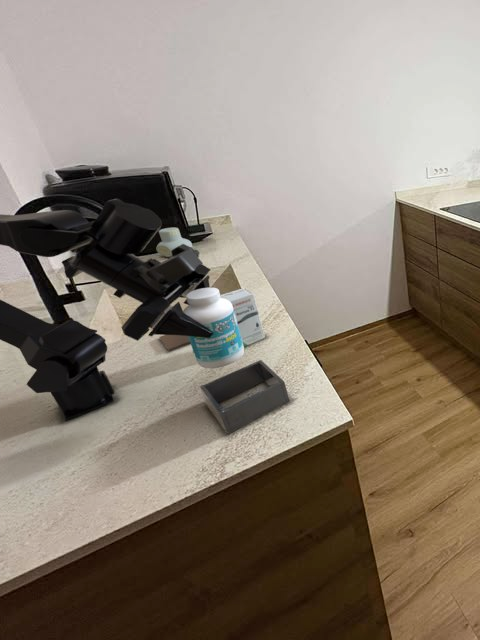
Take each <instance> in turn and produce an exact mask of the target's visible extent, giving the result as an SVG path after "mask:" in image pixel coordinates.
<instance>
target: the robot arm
mask: <svg viewBox="0 0 480 640" xmlns="http://www.w3.org/2000/svg"><path fill="white" fill-rule="evenodd" d="M101 208H102V209H101V212H100V213H99V214H98V216H97V217H94V216H93V217H92V216H84V215H83V214H82V213H80V212H78V211H76V210H71V209H62V210H61V209H60V210H47V211H40V212H33V213H24V214H14V215H13V214H0V246H4V247H9V248H11V249H12V250H14V251H16V252H18V253H21V254H25V255H31V256H37V257H43V258H54V257H57V256H59V255H63V254H65V253H69V251H72V250H76V249H79V250H78V251H77V252H76V254H75V255H72V256H69V257H68V258H66V259H63V260H62V261H61V264H62V265H63V267H64V268H63V269H64V275H65V277H66V278H67V279H73V278H74V277H77V276H78V275H80V274H83V273H85V274H86V275H88V276H90V277H92V278H94V279H95V280H97V281H100V282H102V283H103V284H105V285H107V286H109V287H111V288H113V289H115V291H114V292H113V294H112V295H113V296H115V297H117V298H118V299H121V298H122V297H124V296H128V297H130V298H132V299H134V300H136V301H138V302H140V303H141V304H140V305H139V306H137V307H136V308H135V309H134V311H133V312H132V314H131V315H130V316H129V317H128V318H127V319H126V321H125V322H124V323H123V324H122V326H121V327H120V328H121V330H122V332H123V334H124V336H126V337H128V338H130V339H132V340H134V341H137V342H138V341H140V340H141V339H142V338H143V337H144V336H145V335H146V334H147V333H148V337H153V336H154V335H156V336H157V335H158V336H164V335H181V336H193V337H204V338H210V337H211V336H212V335H213V332H212V331H211V330H209V329H208V328H207V327H205V326H204V325H202V324H200V323H199V322H197V321H196V320H194V319H192V318H191V317H189V316H188V315H186V314H185V313H184V312H183V310H184V309H183V308H182V305H181V303H180V302H179V301H177V300H178V299H179V298H183V299H184V300H185V301H183V304H184V305H187V306H189V303H188V302H187V299H186V295H187V294H188V293H190V292H192V291H194V290H197V289H202V288H211V285H210V279H211V278H210V275H208V274H209V273H210V271H211V268H209V267H207V266H206V265H204V264H203V263H204V262H202V260H201V259H200V258H199V257H200V251H199V250H197V249H194V248H193V247H189V246H187V245H185V244H182V245H180V246H178V247H176V248H174V249H173V250H171V252H172V256H173V257H168V258H167V259H165V260H163V261H162V262H161V261H160V260H158V259H156V258H149V259H148V260H146V261H145V260H144V259H142V258H139V257H138V256H137V254H140V253H142V252H143V251H144V249H145V248H146V247H147V245H148V244H149V243H150V242H151V241H152V239H153V238H154V237H155V236H156V234H157V233H158V232H159V231H160V230H161V227H162V225H163V222H162V220H161V218H160V217H159V215H157V214H156V213H155V212H154V211H153V210H151V209H149V208H145V207H142V206H140V205H137V204H135V203H126V202H124V201H123V200H121V199H120V198H114V199H110V200H106V202H105V203H104V204H103V206H102V207H101ZM91 242H92V243H91ZM175 301H177V302H176V303H175ZM173 303H175V304H174V305H172V304H173ZM150 329H151V331H150ZM149 331H150V332H149ZM0 341H1V342H4V343H7V344H8V345H11V346H13V347H15V348H17V349H18V350H19V351H20V352H21V354H22V357H23V358H24V360H25V362H26V364H27V365H28V366H29V367H31V368H33V369H35V371H34V373H33V374H32V375H31V377H30V378H29V379H28V381H27V382H26V386H27V387H29V389H31V391H33V392H34V393H36V394H45V393H50V394H51V396H52V398H53V400H54V401H55V403H56V404H57V406H58V407H59V409H60V411H61V414H62V418H63V421H65V422H67V421H69V420H72V419H74V418H77V417H79V416H82V415H84V414H87V413H90V412H92V411H94V410H97V409H99V408H102V407H104V406H106V405H109V404H112V403H113V402H115V398H114V396H113V395H114V394H115V389H114V388H113V385H112V383H111V381H110V379H109V377H108V375H107V373H106V371H105V370H100V369H99V368H98V367H99V366H100V365H101V364H103V363H104V362H106V355H107V352H108V345H107V343H106V339H105V337H103V336H102V335H100V334H99V333H98V329H94V328H90V327H88V326H86V325H84V324H82V323H81V322H79V321H78V320H75V319H69V320H67V321H65V322H63V323H62V324H61V323H50V322H47V321H45V320H43V319H41V318H38V317H37V316H35V315H33V314H30V313H29V312H27V311H25V310H23V309H20V307H19V308H18V307H17V306H15V305H12V304H11V303H8V302H6V301H4V300H2V299H0Z"/></svg>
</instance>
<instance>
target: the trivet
mask: <svg viewBox="0 0 480 640" xmlns="http://www.w3.org/2000/svg"><path fill="white" fill-rule="evenodd" d="M159 339H160V341H161V343H162V344H163V345H164V346H165V348H166V350H167V351H168V352H172V351H174V350H176V349H180V348H182V347H185V346H187V345H191V343H190V340H189V337H188V336H181V335H160V336H159Z"/></svg>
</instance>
